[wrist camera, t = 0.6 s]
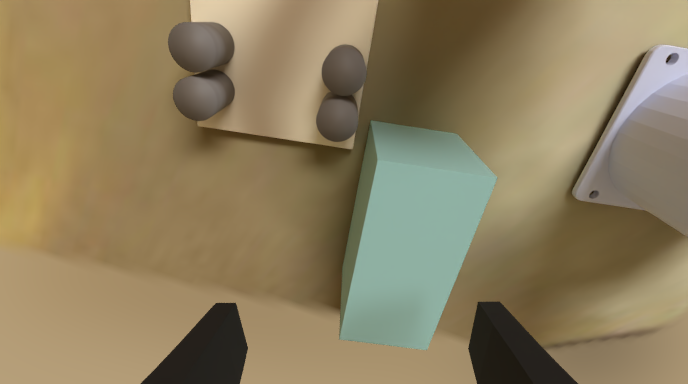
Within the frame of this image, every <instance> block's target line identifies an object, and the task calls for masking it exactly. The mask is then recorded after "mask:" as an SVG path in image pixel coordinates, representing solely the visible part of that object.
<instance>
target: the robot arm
mask: <svg viewBox="0 0 688 384" xmlns="http://www.w3.org/2000/svg"><path fill="white" fill-rule="evenodd" d="M670 54H671V59H670V60H669V61H668V62H667V63H666V59H667V57H668V56H669V55H670ZM592 191H594V193H593V194H591V195H589V194H590V193H591V192H592ZM572 195H573V196H574V197H575V198H576V199H577V200H580V201H586V202H592V203H599V204H606V205H613V206H619V207H626V208H633V209H639V210H646V211H648V212H649V213H651V214H653V215H654V216H656V217H657V218H659V219H660V220H662V221H663V222H665V223H666V224H668V225H670V226H671V227H673V228H674V229H676V230H677V231H679V232H680V233H682V234H683V235H685V236H687V237H688V49H687V48H681V47H675V46H670V45H656V46H654V47H652V48H651V49H650V50H648V52H647V53H646V54H645V56H644V58H643V60H642V62H641V64H640V65H639V67H638V69H637V71H636V73H635V75H634V77H633V78H632V80H631V82H630V84H629V86H628V88H627V90H626V91H625V93H624V95H623V97H622V99H621V101H620V103H619V104H618V106H617V108H616V110H615V112H614V114H613V116H612V117H611V119H610V121H609V123H608V125H607V127H606V129H605V130H604V132H603V134H602V136H601V138H600V140H599V142H598V143H597V145H596V147H595V149H594V151H593V153H592V155H591V156H590V158H589V160H588V162H587V164H586V166H585V168H584V170H583V171H582V173H581V175H580V177H579V179H578V181H577V183H576V184H575V186H574V188H573V191H572ZM468 349H469V353H470V357H471V361H472V365H473V369H474V373H475V377H476V380H477V384H578V383H577V382H576V381H575V380H574V379H573V378H572V377H571V376H570V375H569V374H568V373H567V372H566V371H565V370H564V369H563V368H562V367H561V366H560V365H559V364H558V363H557V362H556V361H555V360H554V359H553V358H552V357H551V356H550V355H549V354H548V353H547V352H546V351H545V350H544V349H543V348H542V347H541V346H540V345H539V344H538V342H537V341H536V340H535V339H534V338H533V337H532V336H531V335H530V334H529V333H528V332H527V331H526V330H525V329H524V327H523V326H522V325H521V324H520V323H519V322H518V321H517V320H516V319H515V318H514V317H513V316H512V314H511V313H510V312H509V311H508V310H507V309H506V308H505V307H504V306H503V305H502V304H501V303H500V302H478V305H477V310H476V315H475V319H474V324H473V329H472V334H471V339H470V343H469V348H468ZM247 350H248V347H247V343H246V339H245V336H244V332H243V328H242V324H241V320H240V317H239V313H238V309H237V305H236V303H216V304H215V305H214V306H213V307H212V308H211V309H210V310H209V311H208V312H207V313H206V314H205V316H204V317H203V318H202V319H201V320H200V321H199V322H198V323H197V324H196V326H195V327H194V328H193V329H192V330H191V331H190V332H189V333H188V334H187V335H186V337H185V338H184V339H183V340H182V341H181V342H180V343H179V344H178V345H177V346H176V347H175V349H174V350H173V351H172V352H171V353H170V354H169V355H168V356H167V357H166V358H165V359H164V360H163V361H162V362H161V363H160V364H159V366H158V367H157V368H156V369H155V370H154V371H153V372H152V373H151V374H150V375H149V376H148V377H147V378H146V379H145V380H144V381H143V382H142V383H141V384H240V380H241V376H242V372H243V367H244V363H245V359H246V354H247Z"/></svg>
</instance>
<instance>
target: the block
mask: <svg viewBox="0 0 688 384" xmlns="http://www.w3.org/2000/svg"><path fill="white" fill-rule="evenodd" d="M496 180H497V177H496V176H495V175H494V174H493V172H492V171H491V170H490V169H489V168H488V167H487V166H486V165H485V164H484V163H483V162H482V161H481V159H480V158H479V157H478V156H477V155H476V154H475V153H474V152H473V151H472V150H471V149H470V148H469V146H468V145H467V144H466V143H465V142H464V141H463V140H462V139H461V138H460V137H459V136H458V134H455V133H449V132H442V131H436V130H430V129H423V128H417V127H410V126H404V125H398V124H391V123H385V122H379V121H372V120H371V122H370V127H369V132H368V137H367V142H366V148H365V153H364V158H363V163H362V168H361V174H360V179H359V184H358V189H357V194H356V200H355V205H354V210H353V215H352V220H351V226H350V231H349V236H348V241H347V246H346V252H345V257H344V262H343V267H342V288H341V311H340V334H339V339H341V340H349V341H357V342H366V343H373V344H382V345H389V346H397V347H406V348H414V349H422V350H427V349H428V346H429V344H430V341H431V339H432V337H433V334H434V332H435V329H436V327H437V324H438V322H439V319H440V317H441V315H442V312H443V310H444V307H445V305H446V302H447V300H448V297H449V295H450V293H451V290H452V288H453V285H454V283H455V280H456V278H457V276H458V273H459V271H460V268H461V266H462V263H463V261H464V258H465V256H466V254H467V251H468V249H469V246H470V244H471V241H472V239H473V236H474V234H475V232H476V229H477V227H478V224H479V222H480V219H481V217H482V214H483V212H484V210H485V207H486V205H487V202H488V200H489V197H490V195H491V193H492V190H493V188H494V185H495V183H496Z"/></svg>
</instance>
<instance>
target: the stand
mask: <svg viewBox="0 0 688 384" xmlns="http://www.w3.org/2000/svg"><path fill="white" fill-rule="evenodd" d="M377 5H378V0H190V6H191V22H183V23H180V24H178V25H176V26H175V27H174V28H173V29H172V30H171V32H170V34H169V39H168V45H169V50H170V53H171V55H172V57H173V59H174V60H175V61H176V63H177V64H178V65H179V66H181V67H182V68H184V69H185V70H187V71H190V72H194V73H195V75H192V76H189V77H186V78H183V79H181V80H180V81H178V82H177V84H176V85H175V87H174V90H173V99H174V102H175V105H176V107H177V108H178V110H179V111H180V112H181V113H182V114H183V115H184V116H186V117H187V118H189V119H192V120H195V121H197V123H198V126H201V127H207V128H214V129H221V130H227V131H234V132H240V133H247V134H254V135H260V136H267V137H274V138H280V139H287V140H293V141H300V142H307V143H313V144H320V145H327V146H333V147H340V148H346V149H353V145H354V139H355V133H356V130H357V127H358V116H359V110H360V104H361V98H362V92H363V87H364V82H365V80H366V75H367V63H368V58H369V52H370V46H371V40H372V34H373V29H374V23H375V17H376V11H377Z"/></svg>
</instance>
